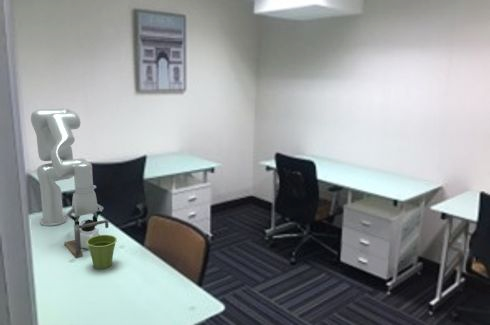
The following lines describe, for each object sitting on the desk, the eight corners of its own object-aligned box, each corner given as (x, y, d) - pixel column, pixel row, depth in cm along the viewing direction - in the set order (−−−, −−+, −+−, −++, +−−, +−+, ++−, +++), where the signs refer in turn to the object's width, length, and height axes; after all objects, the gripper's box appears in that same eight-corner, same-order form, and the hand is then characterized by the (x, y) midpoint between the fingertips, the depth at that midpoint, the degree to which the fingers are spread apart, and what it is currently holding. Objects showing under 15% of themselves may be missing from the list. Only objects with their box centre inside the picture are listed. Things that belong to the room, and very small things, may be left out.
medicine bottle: (98, 241, 188) (99, 219, 183) (91, 250, 181) (91, 227, 177) (83, 238, 188) (84, 216, 184) (76, 246, 182) (76, 224, 177)
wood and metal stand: (76, 258, 173) (73, 226, 170) (64, 245, 185) (62, 215, 182) (112, 248, 183) (110, 219, 180) (98, 237, 195) (97, 208, 192)
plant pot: (108, 273, 161) (107, 247, 159) (82, 270, 164) (80, 244, 161) (123, 260, 173) (122, 236, 170) (98, 257, 175) (96, 233, 172)
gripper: (100, 184, 187) (102, 220, 191) (61, 190, 176) (63, 228, 180) (106, 188, 181) (108, 225, 185) (66, 195, 170) (69, 234, 174)
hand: (86, 226), depth 183 cm, fingers open, 7 cm apart
